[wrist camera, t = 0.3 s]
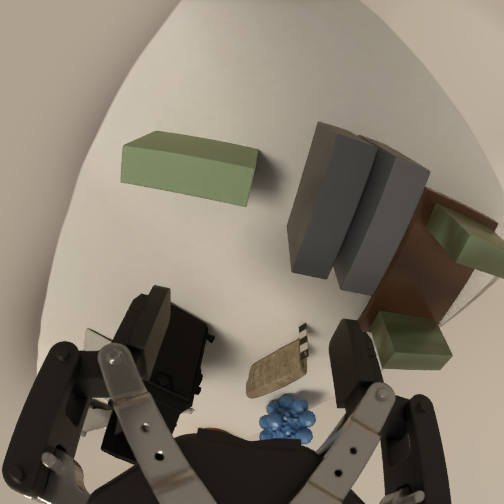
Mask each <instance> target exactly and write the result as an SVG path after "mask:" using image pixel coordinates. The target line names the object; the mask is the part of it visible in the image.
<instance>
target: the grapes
mask: <svg viewBox="0 0 504 504" xmlns="http://www.w3.org/2000/svg"><path fill="white" fill-rule="evenodd" d="M307 409H308V403H307V401H306V400H305V399H303V398H297V399H295V400H294V398H293V397H292V396H290V395H284V396H282V397H281V398H280V400H279V403H278V402H271V403H269V404H268V405H267V413H268V414H269V415H264V416H262V417H261V418H260V420H259V425H260V426H261V428H263V429H264V430H263V431H262V432H261V433H260V436H259V437H260V440H266V439H272V438H288V439H301V444H308V443H309V442H311V440H312V438H313V436H312V432H311V430H310V429H308V428H306V427H311V426H313V425H314V423H315V421H316V418H315V415H314V414H313V412H311V411H307Z"/></svg>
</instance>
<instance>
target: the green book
mask: <svg viewBox="0 0 504 504" xmlns="http://www.w3.org/2000/svg"><path fill="white" fill-rule="evenodd" d="M258 151H259V150H258V149H254V148H250V147H245V146H240V145H236V144H231V143H226V142H221V141H216V140H210V139H205V138H199V137H193V136H187V135H181V134H174V133H168V132H160V131H154V132H152V133H150V134H147V135H145V136H143V137H141V138H138V139H136V140H134V141H132V142H130V143H127V144H125V145H123V150H122V164H121V182H122V183H128V184H133V185H139V186H144V187H150V188H155V189H160V190H166V191H171V192H176V193H181V194H186V195H191V196H196V197H201V198H206V199H210V200H215V201H220V202H225V203H229V204H234V205H238V206H243V207H246V206H247V202H248V198H249V194H250V190H251V186H252V181H253V177H254V173H255V169H256V163H257V157H258Z"/></svg>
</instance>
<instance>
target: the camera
mask: <svg viewBox="0 0 504 504" xmlns="http://www.w3.org/2000/svg"><path fill="white" fill-rule="evenodd" d="M206 326H207V325H205V324H203V323H201V322H199V321H198V320H196V319H194V318H192V317H190V316H188V315H187V314H185V313H183V312H181V311H179V310H178V309H176V308H174V307H172V306H171V305H170V320H169V324H168V327H167V330H166V332H165V335H164V338H163V341H162V344H161V346H160V349H159V352H158V355H157V358H156V361H155V364H154V367H153V370H152V373H151V376H150V379H149V381H147V380H143V379H142V381H143V383H144V385H145V387H146V389H147V391H148V392H149V393H150V394H151V396H152V398H153V399H154V402H155V404H156V406H157V408H158V410H159V411H160V413H161V415H162V417H163V419H164V421H165V423H166V425H167V427H168V429H169V430H170V432H171V434H173V431H174V428H175V427H176V426H177V424H176V423H177V421H178V418H179V415H180V414H181V413H183V412H184V411H186V410H187V409H189V408H190V407H192V404H193V399H194V394H196V395H198V394H199V393H200V392H201V387H199V385H200V383H201V381H202V378H203V375H202V374H201V367H200V366H201V362H202V357H203V353H204V348H205V344H206V339H207V340H209V342H211V343H213V341H214V340H215V336H213V335H210V334H209V333H208V328H207V327H206ZM108 408H110V409H112V412H111V415H110V418H109V422H108V425H107V428H106V432H105V435H104V438H103V442H102V445H101V450H102V451H104V452H106V453H108V454H110V455H112V456H114V457H116V458H118V459H121V460H124V461H126V462H129V463H131V464H134V465H135V464H137V463H138V462H137V460H136V458H135V456H134V454H133V452H132V450H131V447H130V445H129V443H128V441H127V439H126V436H125V434H124V432H123V430H122V427H121V425H120V422H119V420H118V418H117V415H116V412H115V410H114V407H113V404H112V401H111V399H109V402H108Z"/></svg>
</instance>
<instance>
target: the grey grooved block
mask: <svg viewBox="0 0 504 504" xmlns="http://www.w3.org/2000/svg"><path fill="white" fill-rule="evenodd" d="M429 175H430V171H429V170H428V169H426V168H424V167H423V166H421V165H420V164H418V163H416V162H415V161H413V160H411V159H410V158H408V157H406V156H405V155H403V154H401V153H400V152H398V151H396V150H394V149H392V148H391V147H389V146H387V145H385V144H383V143H380V142H377V141H375V140H372V139H369V138H367V137H364V136H361V135H358V136H356V135H355V134H353V133H351V132H349V131H347V130H344V129H341V128H338V127H335V126H332V125H329V124H325V123H322V122H318V123H317V127H316V130H315V134H314V137H313V141H312V144H311V148H310V151H309V155H308V158H307V161H306V165H305V168H304V171H303V175H302V178H301V181H300V185H299V188H298V191H297V195H296V198H295V201H294V205H293V208H292V211H291V214H290V217H289V221H288V224H287V232H288V242H289V251H290V261H291V271H292V272H293V273H298V274H303V275H307V276H312V277H317V278H322V279H327V278H328V275H329V273H330V271H331V269H332V266H334V269H335V273H336V276H337V279H338V283H339V286H340V289H341V290H345V291H350V292H355V293H360V294H365V295H370V296H372V295H373V293H374V292H375V290H376V288H377V286H378V284H379V283H380V281H381V279H382V277H383V275H384V273H385V271H386V269H387V268H388V266H389V264H390V262H391V260H392V258H393V256H394V254H395V252H396V250H397V248H398V246H399V244H400V242H401V240H402V238H403V235H404V233H405V231H406V229H407V227H408V225H409V222H410V220H411V218H412V216H413V213H414V211H415V209H416V207H417V204H418V202H419V200H420V197H421V195H422V192H423V190H424V187H425V185H426V182H427V180H428V177H429Z"/></svg>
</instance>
